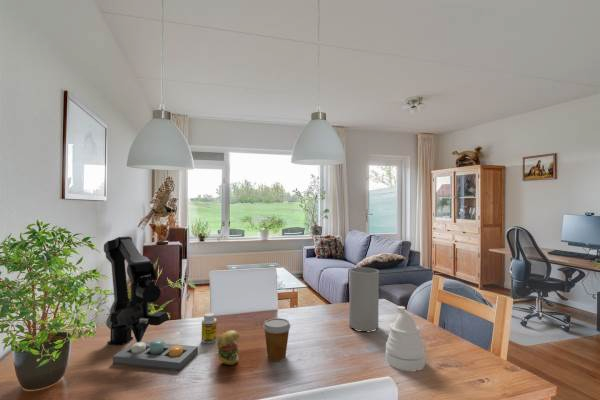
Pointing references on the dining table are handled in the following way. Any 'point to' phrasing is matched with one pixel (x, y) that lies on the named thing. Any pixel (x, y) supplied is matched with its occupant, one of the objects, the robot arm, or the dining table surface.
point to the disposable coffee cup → (276, 338)
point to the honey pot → (405, 343)
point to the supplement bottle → (209, 328)
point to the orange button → (175, 351)
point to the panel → (156, 357)
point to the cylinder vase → (364, 298)
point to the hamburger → (228, 347)
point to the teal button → (156, 347)
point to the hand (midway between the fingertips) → (138, 341)
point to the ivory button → (138, 347)
